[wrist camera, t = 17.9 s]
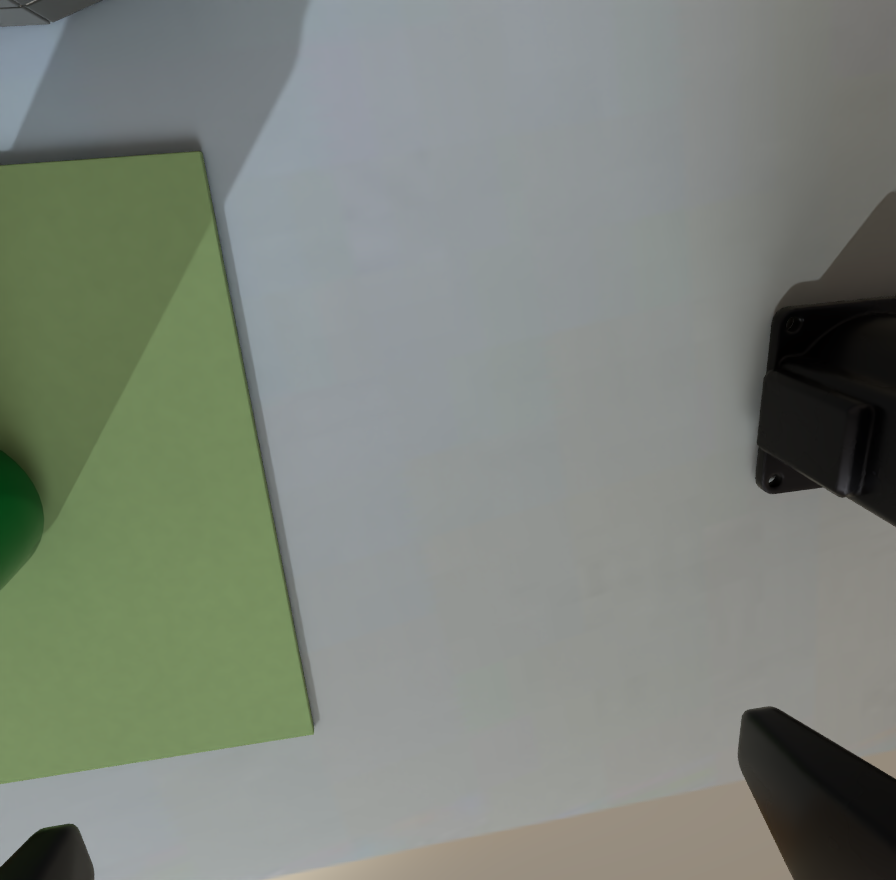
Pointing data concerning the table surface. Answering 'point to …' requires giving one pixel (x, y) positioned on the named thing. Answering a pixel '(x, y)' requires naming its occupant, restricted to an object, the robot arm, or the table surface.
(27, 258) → the napkin
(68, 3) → the pan
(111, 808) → the table surface
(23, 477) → the soda can
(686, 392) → the table surface
